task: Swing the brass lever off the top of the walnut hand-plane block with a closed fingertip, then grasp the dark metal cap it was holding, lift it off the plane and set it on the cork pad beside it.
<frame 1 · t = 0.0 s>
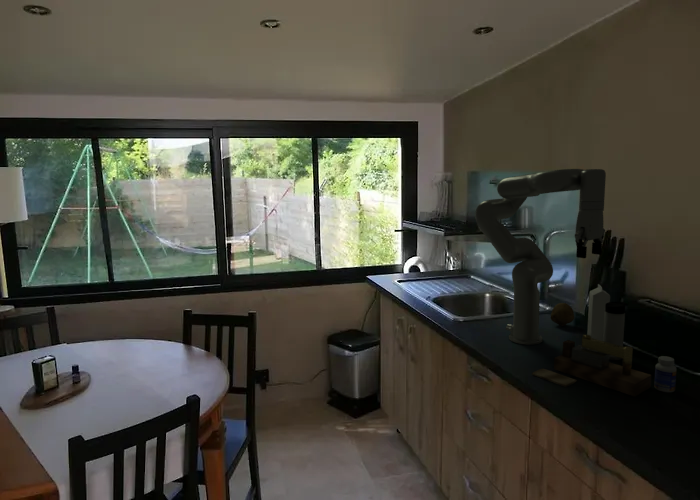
hand: (589, 255, 167), 37 cm above the worktop, tool pointing down, fingers open, 9 cm apart
cap: (589, 363, 158), point 4 cm above the worktop, touching plane body
pill bottle: (664, 389, 148), on the worktop
lever: (606, 353, 154), point 9 cm above the worktop, hinge at 0.0°
milk: (597, 340, 190), on the worktop
cork pad: (553, 378, 158), on the worktop
natural sponge: (562, 326, 208), on the worktop
plane body: (599, 377, 157), on the worktop
travel mug: (612, 357, 173), on the worktop
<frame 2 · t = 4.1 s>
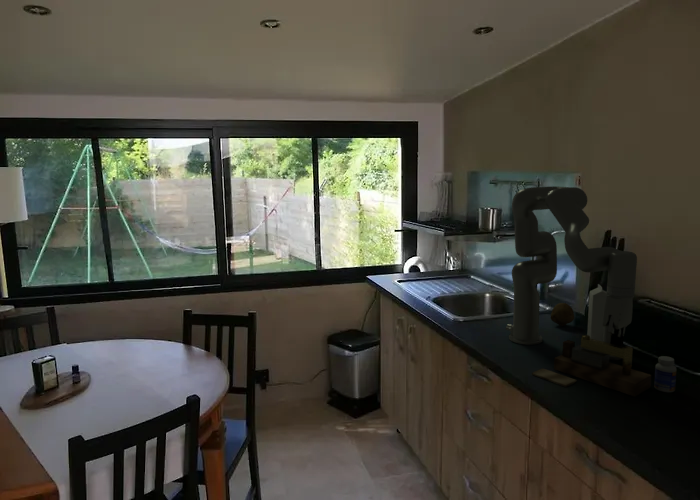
hand: (616, 347, 154), 11 cm above the worktop, tool pointing down, fingers closed
lever: (605, 354, 154), point 9 cm above the worktop, hinge at 2.5°, touching gripper
everything else where it was.
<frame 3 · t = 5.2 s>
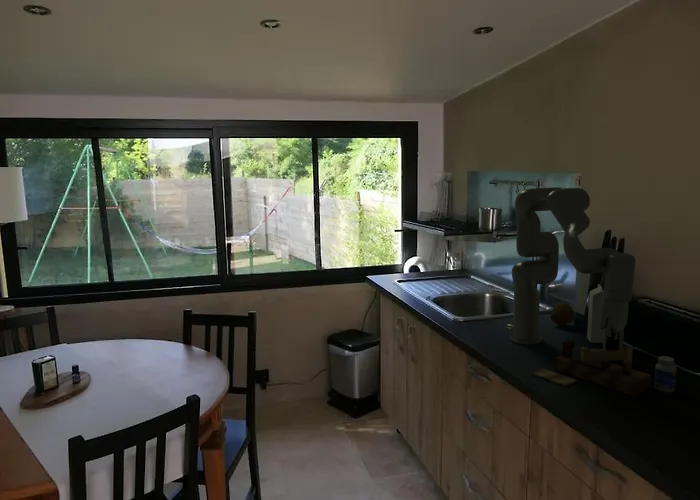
hand: (611, 350, 152), 11 cm above the worktop, tool pointing down, fingers closed
lever: (606, 360, 149), point 8 cm above the worktop, hinge at 55.3°, touching gripper
everything else where it was.
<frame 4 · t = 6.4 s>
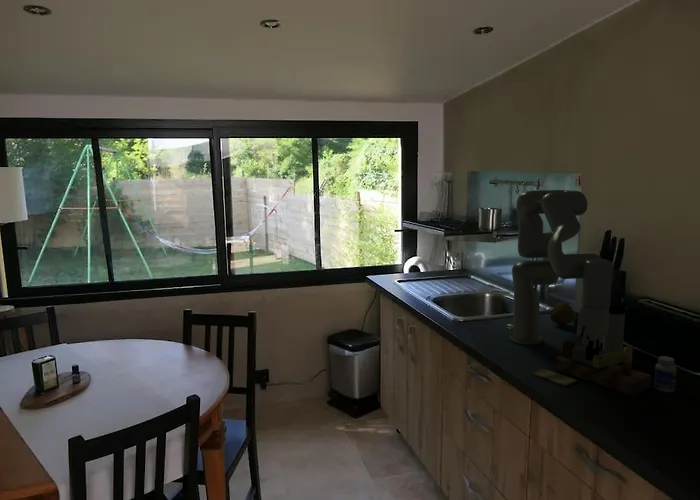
hand: (591, 359, 146), 10 cm above the worktop, tool pointing down, fingers closed
lever: (612, 364, 146), point 8 cm above the worktop, hinge at 79.4°, touching gripper
everything else where it was.
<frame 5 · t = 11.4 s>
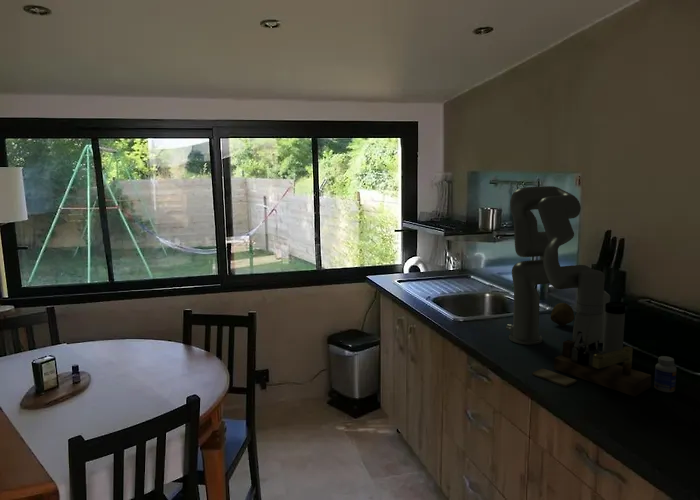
hand: (586, 361, 159), 4 cm above the worktop, tool pointing down, fingers closed on cap, 4 cm apart
cap: (589, 363, 158), point 4 cm above the worktop, touching gripper, plane body
lever: (612, 364, 146), point 8 cm above the worktop, hinge at 79.5°
everything else where it was.
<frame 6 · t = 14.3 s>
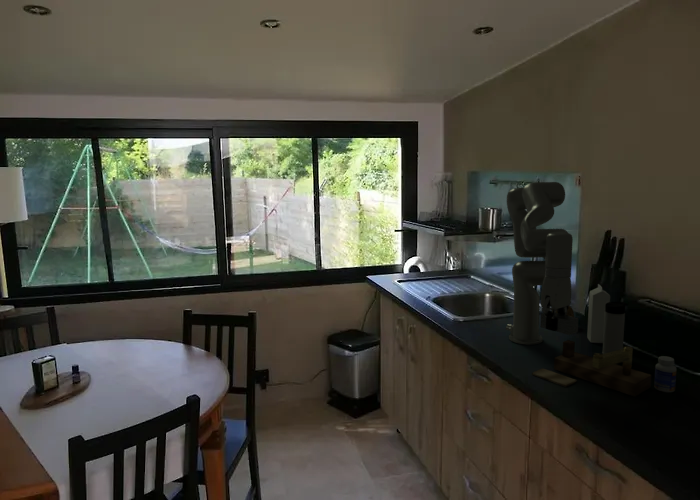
hand: (555, 327, 155), 17 cm above the worktop, tool pointing down, fingers closed on cap, 4 cm apart
cap: (558, 329, 154), point 17 cm above the worktop, touching gripper
everything else where it was.
when the fingers open (2 cm above the worktop, at t = 17.1 s): cap drops 1 cm, resting on cork pad.
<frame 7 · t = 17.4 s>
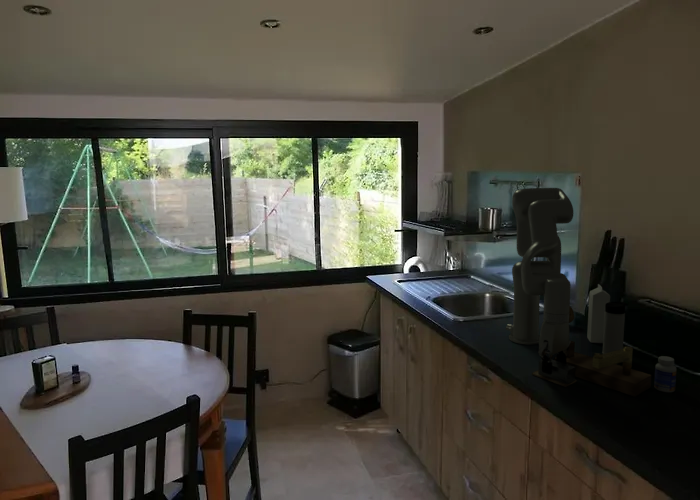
hand: (554, 369, 157), 3 cm above the worktop, tool pointing down, fingers open, 7 cm apart
cap: (556, 377, 157), point 1 cm above the worktop, touching cork pad
everything else where it was.
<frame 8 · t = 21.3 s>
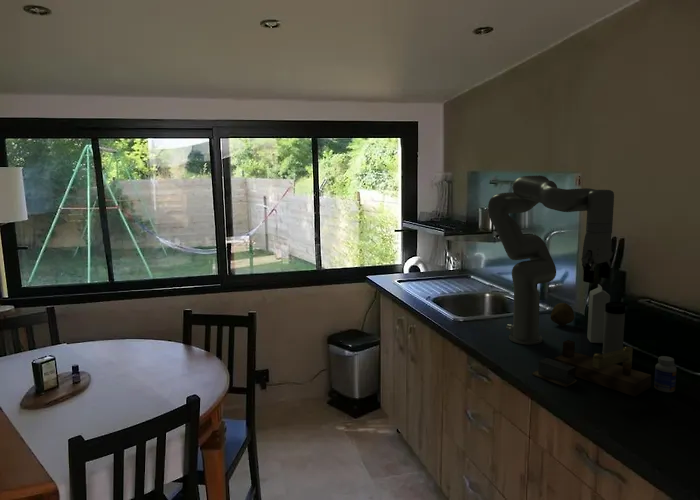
hand: (596, 279, 160), 30 cm above the worktop, tool pointing down, fingers open, 9 cm apart
nothing on the worktop moved.
at the end: lever at +80° (first picture: +0°); cap inside the target area on the cork pad (0.9 cm from its centre), point 0.6 cm above the cork pad's base; cap tilted 0° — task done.
